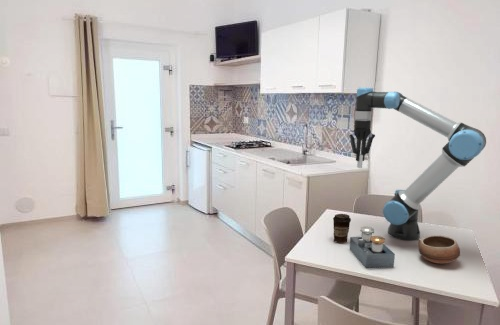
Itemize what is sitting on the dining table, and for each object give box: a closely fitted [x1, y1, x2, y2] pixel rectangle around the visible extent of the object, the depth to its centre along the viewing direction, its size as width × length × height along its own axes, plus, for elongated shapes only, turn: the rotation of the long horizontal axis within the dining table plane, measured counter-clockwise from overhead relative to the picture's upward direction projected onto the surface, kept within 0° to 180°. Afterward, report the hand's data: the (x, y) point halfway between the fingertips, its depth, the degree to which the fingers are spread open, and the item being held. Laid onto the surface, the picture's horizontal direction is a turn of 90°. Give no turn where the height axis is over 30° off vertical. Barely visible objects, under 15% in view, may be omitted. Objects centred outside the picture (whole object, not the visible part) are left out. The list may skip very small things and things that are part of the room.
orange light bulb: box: [370, 235, 386, 254], centre depth 159 cm, size 6×6×10 cm
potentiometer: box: [358, 239, 365, 247], centre depth 163 cm, size 3×3×3 cm
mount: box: [349, 236, 396, 269], centre depth 165 cm, size 12×19×6 cm, turn 5°
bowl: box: [417, 235, 461, 264], centre depth 162 cm, size 16×16×10 cm
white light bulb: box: [359, 225, 375, 243], centre depth 169 cm, size 6×6×10 cm
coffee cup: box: [332, 213, 352, 244], centre depth 182 cm, size 9×8×13 cm
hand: (359, 167), depth 187 cm, fingers closed
